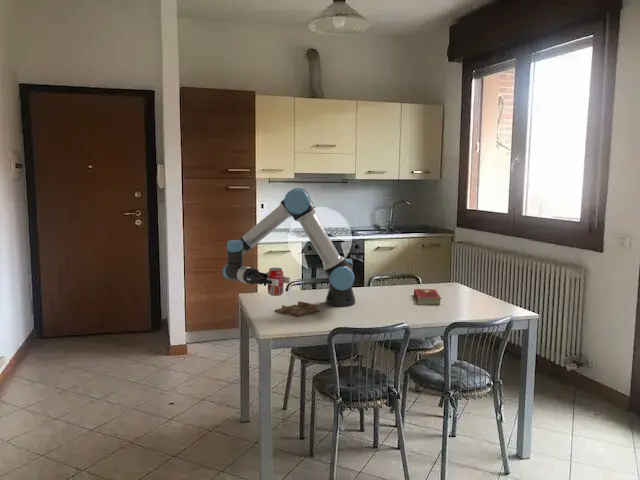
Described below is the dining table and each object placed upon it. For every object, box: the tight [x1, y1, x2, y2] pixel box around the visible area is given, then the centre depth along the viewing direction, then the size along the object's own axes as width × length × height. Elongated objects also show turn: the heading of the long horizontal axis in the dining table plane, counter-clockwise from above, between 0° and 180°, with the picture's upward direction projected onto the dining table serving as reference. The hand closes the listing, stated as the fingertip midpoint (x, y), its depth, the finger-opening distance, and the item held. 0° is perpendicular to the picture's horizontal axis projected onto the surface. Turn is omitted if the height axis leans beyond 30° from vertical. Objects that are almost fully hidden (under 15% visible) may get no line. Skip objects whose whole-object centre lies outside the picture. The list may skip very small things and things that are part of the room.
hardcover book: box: [413, 288, 442, 305], centre depth 279 cm, size 12×21×4 cm, turn 175°
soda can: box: [267, 267, 284, 297], centre depth 238 cm, size 7×7×12 cm
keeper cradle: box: [274, 300, 320, 318], centre depth 253 cm, size 16×14×3 cm
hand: (283, 281), depth 235 cm, fingers closed on soda can, 7 cm apart
